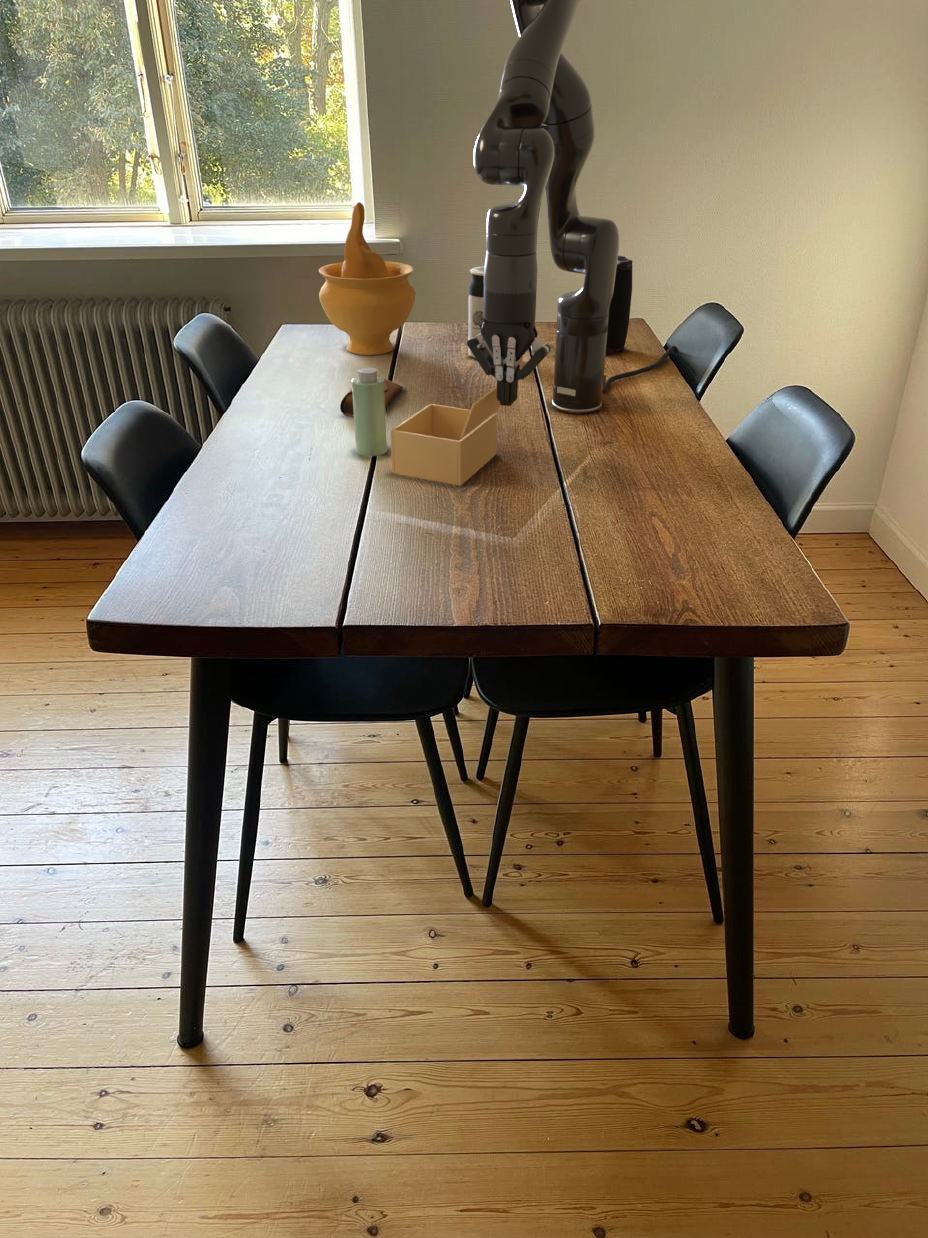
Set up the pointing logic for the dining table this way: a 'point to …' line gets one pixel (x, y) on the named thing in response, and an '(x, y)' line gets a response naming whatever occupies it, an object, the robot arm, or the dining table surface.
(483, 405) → the flap
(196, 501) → the dining table surface
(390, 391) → the leather pouch
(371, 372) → the water bottle
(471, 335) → the travel mug
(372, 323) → the mortar and pestle
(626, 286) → the portable speaker
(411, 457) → the carton
